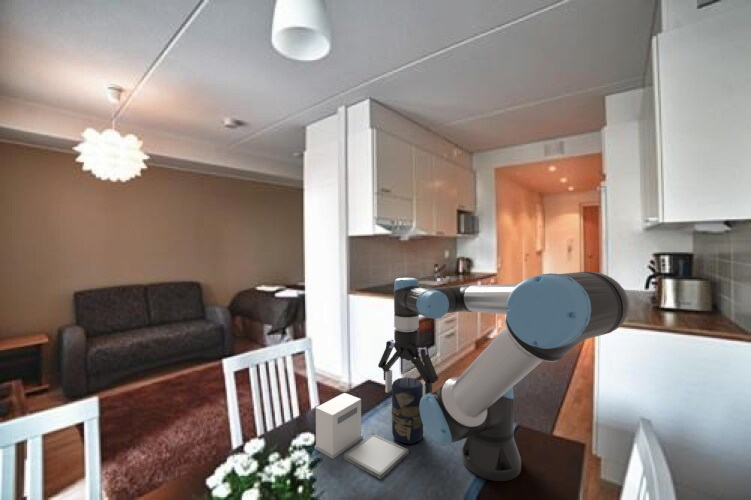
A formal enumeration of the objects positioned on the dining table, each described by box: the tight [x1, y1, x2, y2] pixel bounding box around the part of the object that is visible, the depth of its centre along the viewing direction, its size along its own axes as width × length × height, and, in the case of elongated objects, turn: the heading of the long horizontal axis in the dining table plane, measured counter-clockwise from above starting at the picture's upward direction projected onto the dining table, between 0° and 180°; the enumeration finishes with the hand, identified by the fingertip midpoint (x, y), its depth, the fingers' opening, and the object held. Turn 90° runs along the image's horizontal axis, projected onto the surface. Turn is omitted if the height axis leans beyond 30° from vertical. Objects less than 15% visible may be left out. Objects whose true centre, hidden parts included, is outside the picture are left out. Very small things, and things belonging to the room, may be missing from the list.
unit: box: [314, 392, 364, 460], centre depth 97 cm, size 8×13×12 cm, turn 142°
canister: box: [391, 376, 424, 445], centre depth 100 cm, size 10×10×18 cm
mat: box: [342, 433, 410, 480], centre depth 91 cm, size 13×13×1 cm
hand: (406, 397), depth 100 cm, fingers open, 13 cm apart
